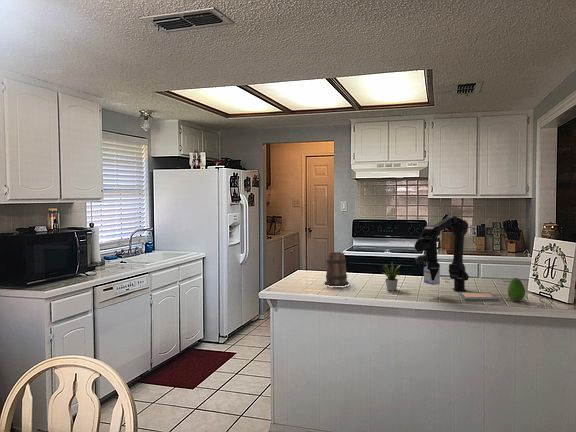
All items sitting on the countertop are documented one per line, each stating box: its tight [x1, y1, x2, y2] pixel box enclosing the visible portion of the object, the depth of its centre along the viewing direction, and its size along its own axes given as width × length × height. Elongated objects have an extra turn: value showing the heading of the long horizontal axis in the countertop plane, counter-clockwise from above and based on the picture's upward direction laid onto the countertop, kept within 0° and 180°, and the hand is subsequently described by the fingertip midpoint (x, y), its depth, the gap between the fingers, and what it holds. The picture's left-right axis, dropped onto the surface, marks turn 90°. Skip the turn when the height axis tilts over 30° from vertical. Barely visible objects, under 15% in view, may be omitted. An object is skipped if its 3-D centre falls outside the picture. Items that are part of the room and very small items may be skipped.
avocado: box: [507, 277, 526, 302], centre depth 246 cm, size 8×8×12 cm
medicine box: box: [423, 266, 441, 286], centre depth 263 cm, size 8×4×9 cm, turn 23°
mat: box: [458, 291, 499, 302], centre depth 257 cm, size 16×16×1 cm
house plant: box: [378, 261, 401, 292], centre depth 282 cm, size 14×14×16 cm
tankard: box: [323, 251, 350, 286], centre depth 304 cm, size 24×17×20 cm
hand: (431, 278), depth 263 cm, fingers closed on medicine box, 9 cm apart
